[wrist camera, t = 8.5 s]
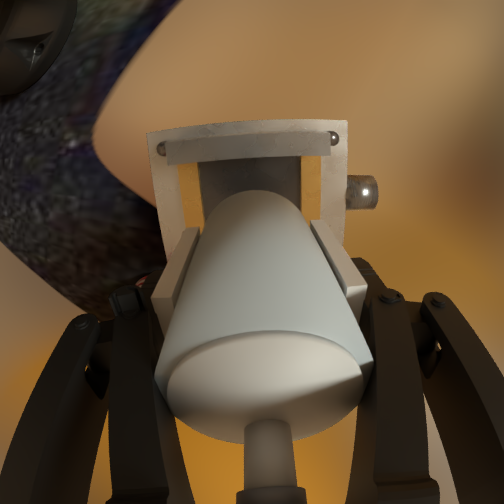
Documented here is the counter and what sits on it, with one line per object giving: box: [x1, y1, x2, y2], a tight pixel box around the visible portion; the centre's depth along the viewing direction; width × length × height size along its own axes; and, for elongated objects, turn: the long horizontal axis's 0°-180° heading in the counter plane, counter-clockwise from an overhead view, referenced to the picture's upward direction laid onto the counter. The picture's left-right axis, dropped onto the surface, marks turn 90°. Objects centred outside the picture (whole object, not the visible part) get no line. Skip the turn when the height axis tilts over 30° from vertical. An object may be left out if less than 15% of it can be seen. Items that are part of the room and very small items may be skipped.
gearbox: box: [146, 119, 378, 262], centre depth 22 cm, size 19×13×6 cm
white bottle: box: [154, 190, 374, 504], centre depth 10 cm, size 6×6×13 cm
